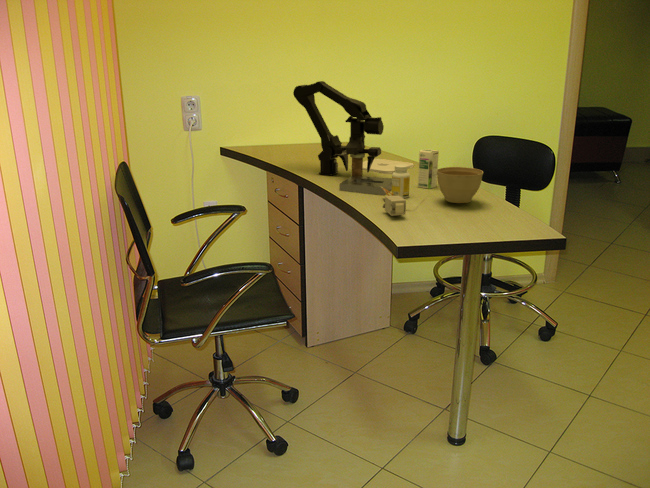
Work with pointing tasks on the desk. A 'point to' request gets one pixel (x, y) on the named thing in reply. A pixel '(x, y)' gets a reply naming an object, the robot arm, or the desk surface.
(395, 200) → the electrical component
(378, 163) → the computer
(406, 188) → the pill bottle
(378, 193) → the keyhole plate
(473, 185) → the planter bowl
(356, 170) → the walnut peg
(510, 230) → the desk surface
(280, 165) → the desk surface
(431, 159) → the syrup box
